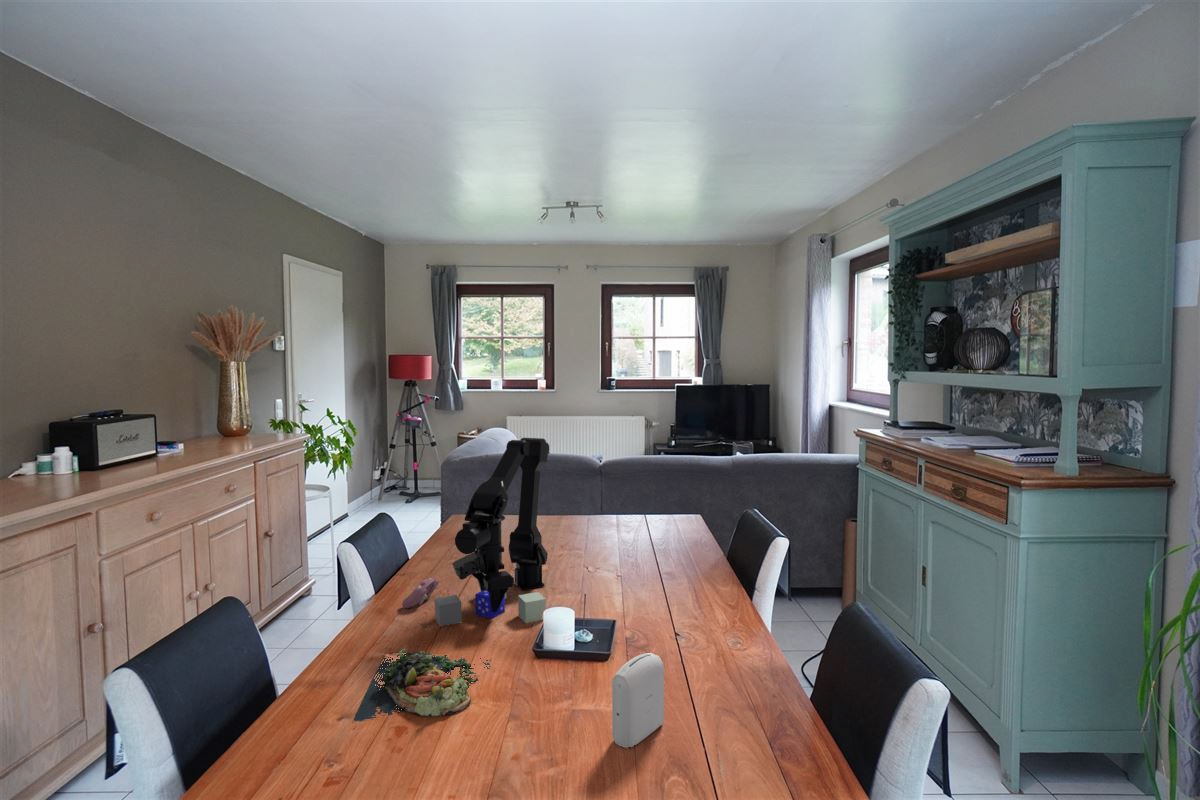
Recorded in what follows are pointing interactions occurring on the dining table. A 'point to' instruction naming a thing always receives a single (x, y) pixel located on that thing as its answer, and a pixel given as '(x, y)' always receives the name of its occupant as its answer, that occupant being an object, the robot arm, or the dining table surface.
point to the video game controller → (420, 593)
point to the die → (487, 605)
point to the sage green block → (531, 607)
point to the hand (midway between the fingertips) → (490, 606)
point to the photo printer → (637, 699)
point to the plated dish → (417, 687)
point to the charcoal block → (448, 610)
